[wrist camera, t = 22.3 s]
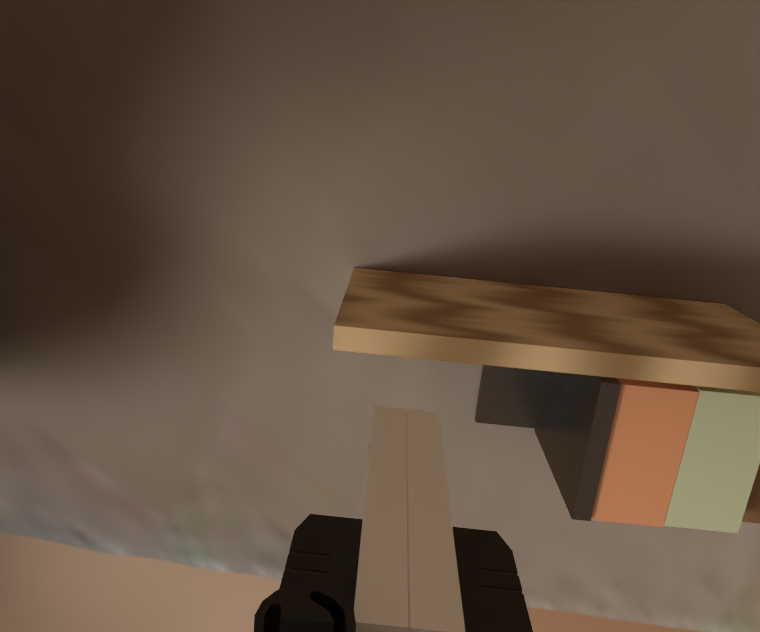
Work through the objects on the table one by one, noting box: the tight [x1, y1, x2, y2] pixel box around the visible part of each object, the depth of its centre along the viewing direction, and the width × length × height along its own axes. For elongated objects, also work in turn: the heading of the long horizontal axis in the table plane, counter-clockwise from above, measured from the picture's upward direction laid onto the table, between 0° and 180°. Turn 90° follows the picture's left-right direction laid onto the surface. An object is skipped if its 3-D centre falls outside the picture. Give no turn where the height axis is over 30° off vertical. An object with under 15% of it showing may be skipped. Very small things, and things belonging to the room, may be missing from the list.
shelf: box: [333, 268, 760, 523], centre depth 36 cm, size 25×11×12 cm, turn 85°
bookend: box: [475, 365, 622, 521], centre depth 37 cm, size 5×8×10 cm, turn 175°
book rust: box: [591, 378, 699, 527], centre depth 37 cm, size 4×8×10 cm, turn 175°
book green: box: [664, 386, 760, 533], centre depth 37 cm, size 4×8×10 cm, turn 175°
